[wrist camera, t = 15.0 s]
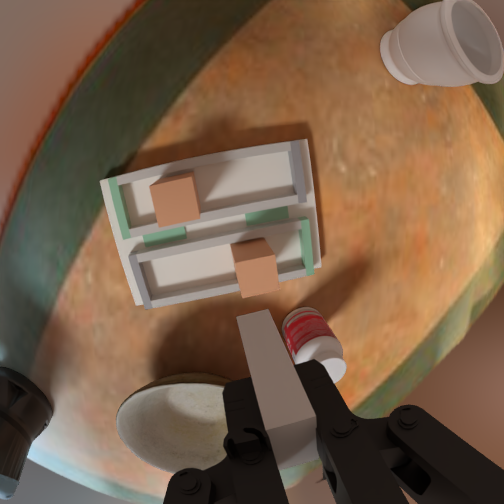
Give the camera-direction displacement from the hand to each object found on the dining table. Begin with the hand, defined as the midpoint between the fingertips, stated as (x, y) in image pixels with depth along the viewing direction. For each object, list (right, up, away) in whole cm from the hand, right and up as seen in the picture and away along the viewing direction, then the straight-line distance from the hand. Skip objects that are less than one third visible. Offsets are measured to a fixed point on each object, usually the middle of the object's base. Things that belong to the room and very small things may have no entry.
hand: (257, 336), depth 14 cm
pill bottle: (+7, -6, +29) cm, 31 cm away
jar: (+21, +31, +18) cm, 41 cm away
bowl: (-9, -19, +31) cm, 38 cm away
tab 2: (-1, +3, +23) cm, 23 cm away
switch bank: (-5, +7, +22) cm, 24 cm away
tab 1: (-8, +10, +19) cm, 23 cm away
